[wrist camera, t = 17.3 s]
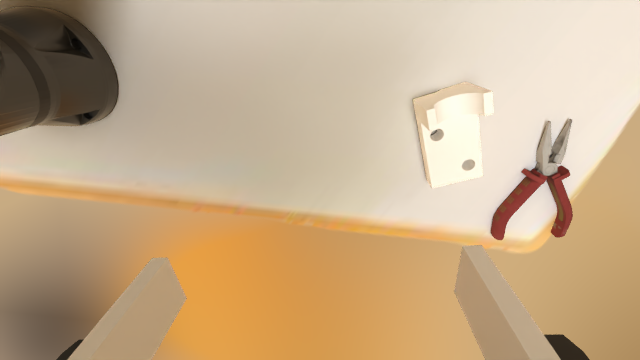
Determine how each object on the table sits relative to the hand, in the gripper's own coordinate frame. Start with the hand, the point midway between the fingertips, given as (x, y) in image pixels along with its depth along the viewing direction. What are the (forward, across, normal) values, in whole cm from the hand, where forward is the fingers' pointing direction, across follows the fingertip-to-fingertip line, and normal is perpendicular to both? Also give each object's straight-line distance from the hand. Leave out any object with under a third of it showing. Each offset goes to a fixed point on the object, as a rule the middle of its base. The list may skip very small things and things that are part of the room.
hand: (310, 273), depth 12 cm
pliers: (+31, +33, -15) cm, 48 cm away
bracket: (+31, +16, -5) cm, 35 cm away
